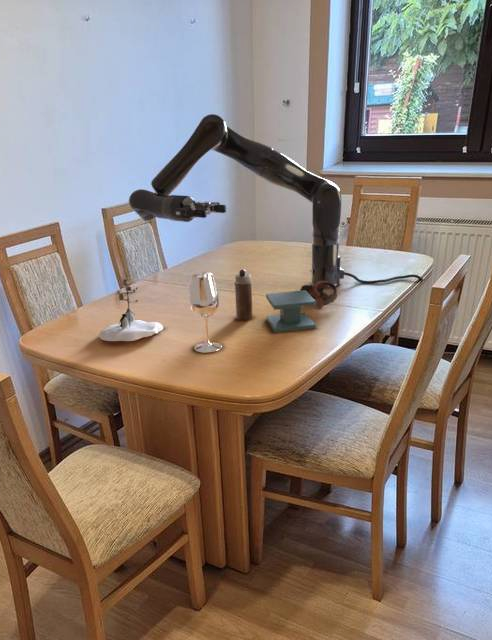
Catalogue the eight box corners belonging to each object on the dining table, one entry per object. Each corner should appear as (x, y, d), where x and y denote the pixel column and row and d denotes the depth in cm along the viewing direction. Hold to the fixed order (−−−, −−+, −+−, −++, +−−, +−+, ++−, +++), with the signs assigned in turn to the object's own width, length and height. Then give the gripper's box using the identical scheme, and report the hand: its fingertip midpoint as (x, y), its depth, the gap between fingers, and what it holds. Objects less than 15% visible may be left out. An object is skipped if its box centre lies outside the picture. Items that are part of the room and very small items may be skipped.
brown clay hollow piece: (335, 300, 191) (341, 281, 184) (330, 320, 186) (336, 302, 179) (300, 291, 191) (305, 272, 184) (294, 311, 187) (299, 293, 180)
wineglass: (193, 344, 163) (186, 272, 153) (221, 341, 163) (215, 269, 153) (194, 354, 156) (187, 279, 146) (223, 351, 156) (218, 277, 146)
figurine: (143, 346, 161) (136, 286, 154) (87, 342, 167) (78, 284, 160) (173, 328, 178) (169, 274, 171) (121, 326, 184) (115, 273, 177)
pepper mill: (251, 314, 182) (249, 266, 174) (254, 319, 178) (252, 270, 170) (235, 316, 182) (232, 268, 174) (237, 321, 177) (235, 272, 170)
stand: (305, 315, 178) (305, 289, 174) (315, 328, 167) (315, 301, 163) (266, 320, 177) (265, 293, 173) (274, 333, 166) (274, 305, 162)
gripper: (160, 198, 176) (197, 201, 166) (193, 192, 185) (230, 194, 175) (162, 224, 180) (200, 229, 170) (195, 217, 189) (232, 220, 179)
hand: (215, 211), depth 173 cm, fingers open, 8 cm apart
